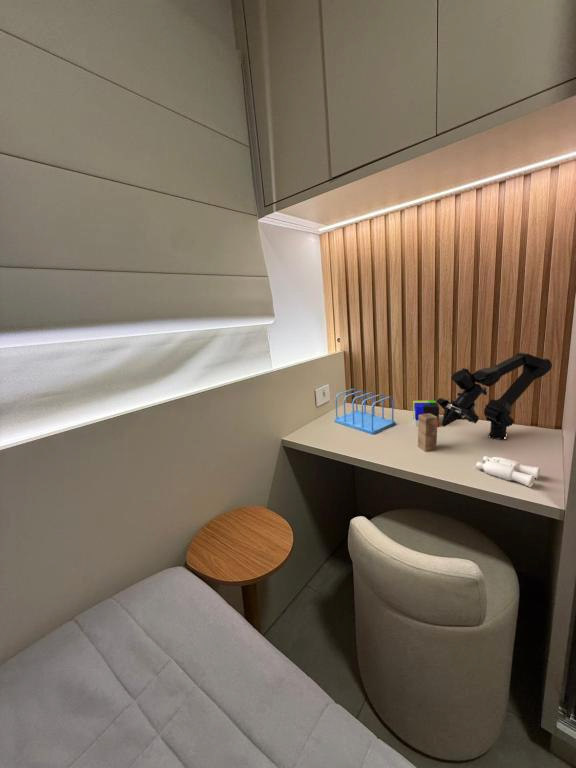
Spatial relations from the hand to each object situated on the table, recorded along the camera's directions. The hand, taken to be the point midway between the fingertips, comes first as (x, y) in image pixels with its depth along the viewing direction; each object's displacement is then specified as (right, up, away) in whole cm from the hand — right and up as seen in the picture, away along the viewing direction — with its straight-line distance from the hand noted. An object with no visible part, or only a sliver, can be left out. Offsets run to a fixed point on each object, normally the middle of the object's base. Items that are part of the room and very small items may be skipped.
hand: (442, 425), depth 130 cm
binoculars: (+11, -14, -22) cm, 28 cm away
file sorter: (-24, -3, +33) cm, 41 cm away
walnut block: (-6, -9, +1) cm, 11 cm away
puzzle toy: (+4, -2, +27) cm, 27 cm away
